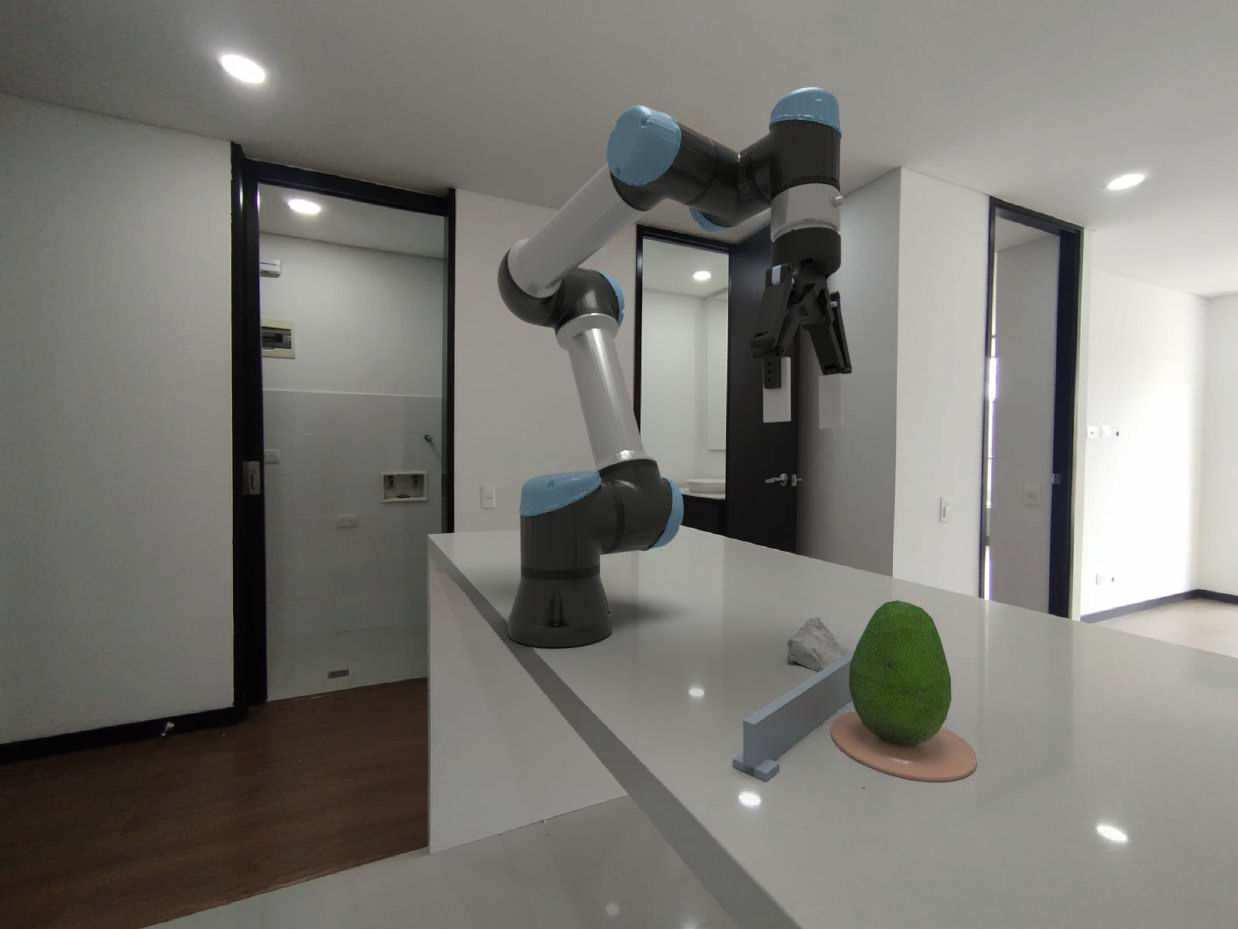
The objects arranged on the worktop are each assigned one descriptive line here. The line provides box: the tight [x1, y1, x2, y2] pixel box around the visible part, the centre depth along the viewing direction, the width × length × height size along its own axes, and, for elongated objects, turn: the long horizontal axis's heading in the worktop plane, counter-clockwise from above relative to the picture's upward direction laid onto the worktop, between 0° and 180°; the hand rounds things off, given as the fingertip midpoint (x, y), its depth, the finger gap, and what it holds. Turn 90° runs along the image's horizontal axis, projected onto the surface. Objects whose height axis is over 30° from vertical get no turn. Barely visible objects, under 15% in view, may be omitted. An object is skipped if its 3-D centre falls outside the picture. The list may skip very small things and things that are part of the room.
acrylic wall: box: [731, 651, 855, 782], centre depth 50 cm, size 3×22×4 cm, turn 136°
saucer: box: [830, 711, 977, 783], centre depth 46 cm, size 11×11×1 cm
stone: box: [787, 616, 849, 673], centre depth 67 cm, size 6×12×4 cm, turn 147°
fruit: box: [849, 599, 952, 745], centre depth 46 cm, size 8×8×12 cm
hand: (806, 425), depth 60 cm, fingers open, 13 cm apart
